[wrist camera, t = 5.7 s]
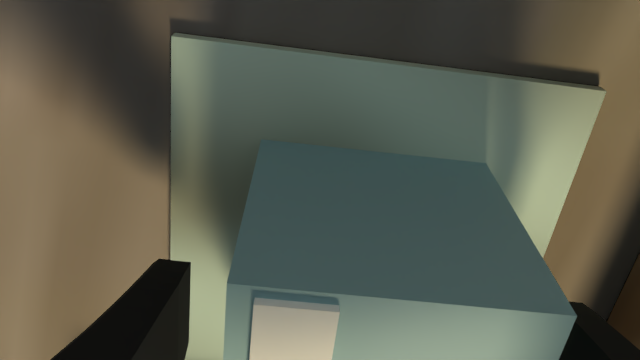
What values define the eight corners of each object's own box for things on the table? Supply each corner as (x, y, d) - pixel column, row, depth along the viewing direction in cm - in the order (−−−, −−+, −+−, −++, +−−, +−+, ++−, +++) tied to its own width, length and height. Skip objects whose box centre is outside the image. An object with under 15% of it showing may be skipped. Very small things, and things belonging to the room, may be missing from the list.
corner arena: (571, 464, 18) (615, 566, 15) (121, 424, 17) (84, 525, 14) (831, -41, 11) (1000, -17, 8) (90, -148, 10) (6, -160, 7)
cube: (486, 163, 12) (582, 323, 8) (438, 333, 15) (491, 533, 10) (261, 139, 12) (225, 290, 8) (248, 315, 14) (215, 513, 10)
